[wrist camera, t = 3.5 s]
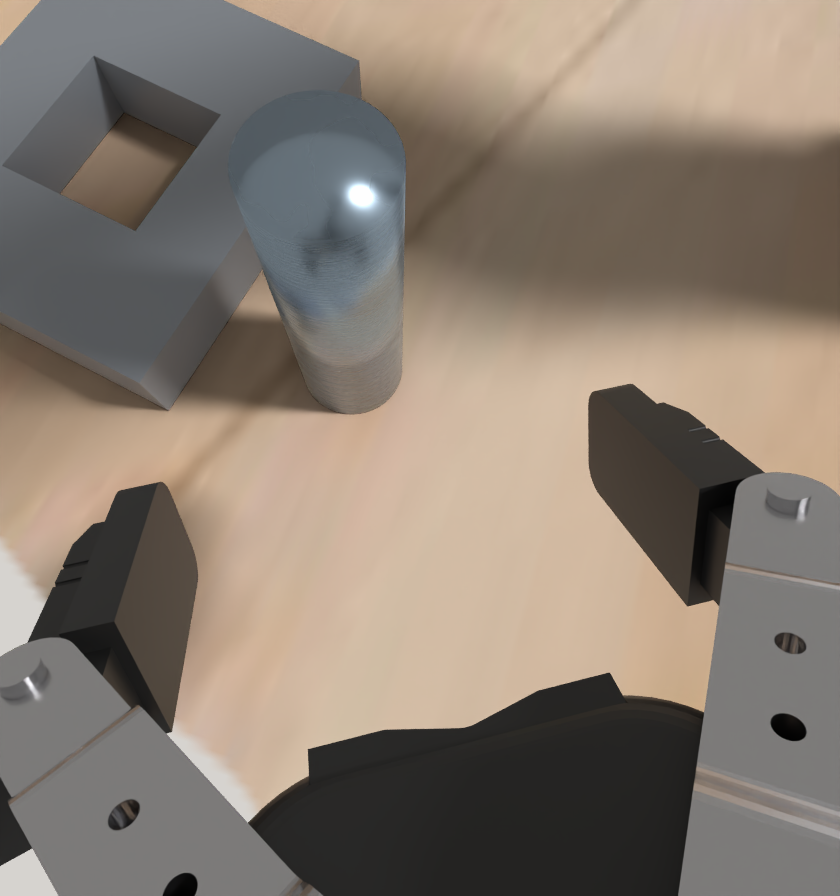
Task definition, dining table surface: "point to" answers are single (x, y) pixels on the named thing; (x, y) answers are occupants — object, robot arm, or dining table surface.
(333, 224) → the steel pin
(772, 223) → the dining table surface
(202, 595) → the dining table surface
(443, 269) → the dining table surface
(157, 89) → the socket stand
